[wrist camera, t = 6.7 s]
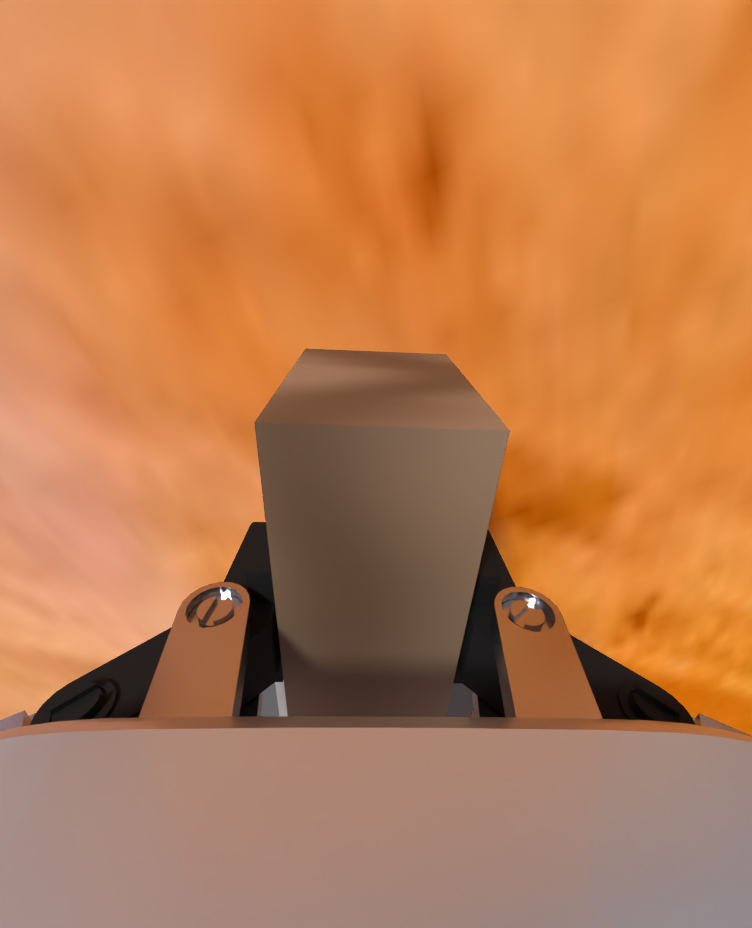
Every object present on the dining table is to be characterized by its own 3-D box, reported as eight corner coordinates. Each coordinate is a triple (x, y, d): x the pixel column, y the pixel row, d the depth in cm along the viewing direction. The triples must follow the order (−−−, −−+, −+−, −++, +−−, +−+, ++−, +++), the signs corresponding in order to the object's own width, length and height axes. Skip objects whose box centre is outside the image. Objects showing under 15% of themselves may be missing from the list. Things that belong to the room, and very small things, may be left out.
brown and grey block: (511, 357, 10) (625, 434, 6) (435, 723, 18) (458, 875, 13) (238, 346, 10) (128, 418, 5) (284, 722, 18) (255, 877, 13)
